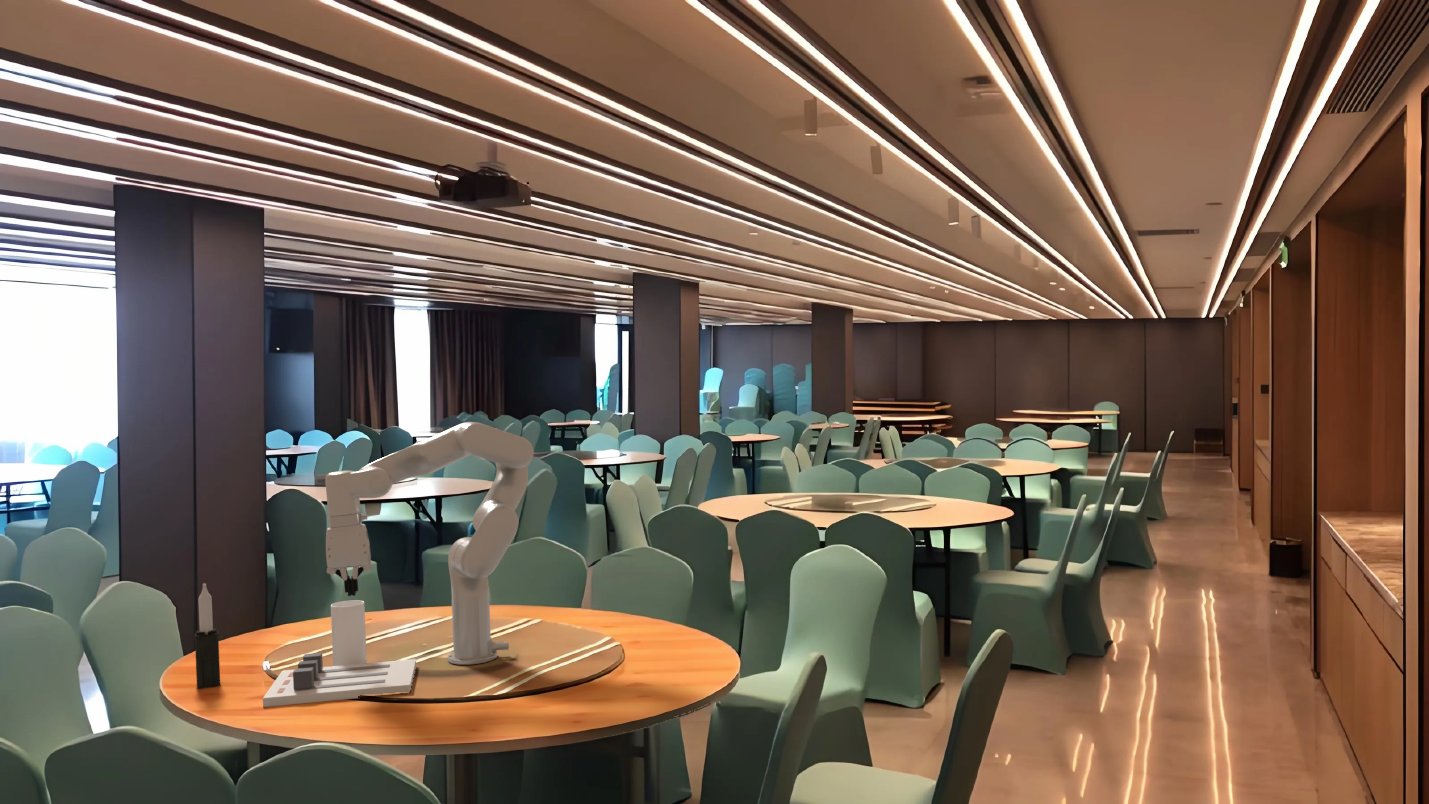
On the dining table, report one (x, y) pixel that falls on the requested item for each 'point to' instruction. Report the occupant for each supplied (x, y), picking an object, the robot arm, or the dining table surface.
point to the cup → (348, 632)
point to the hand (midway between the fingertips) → (352, 594)
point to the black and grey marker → (206, 645)
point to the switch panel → (339, 681)
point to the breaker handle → (310, 666)
